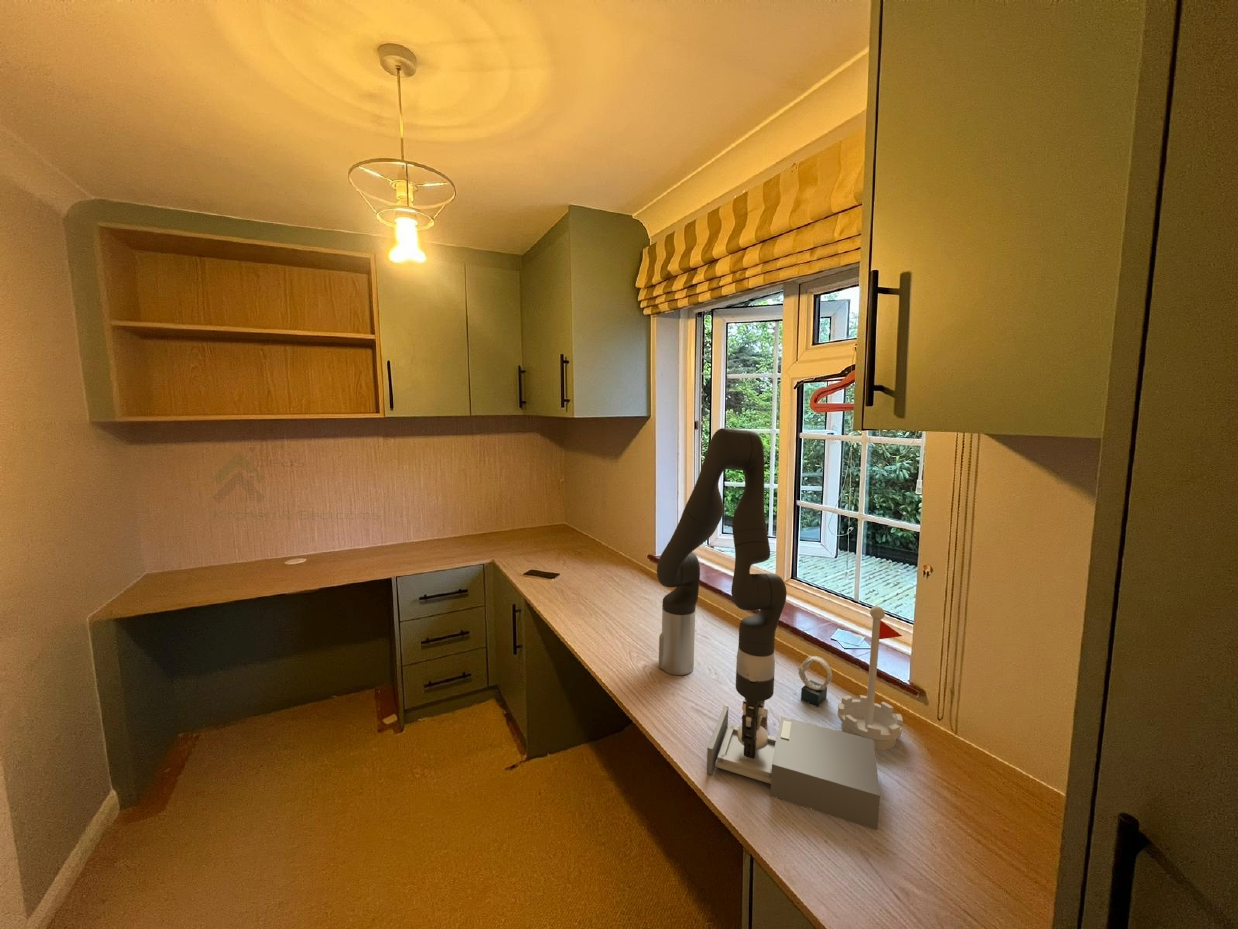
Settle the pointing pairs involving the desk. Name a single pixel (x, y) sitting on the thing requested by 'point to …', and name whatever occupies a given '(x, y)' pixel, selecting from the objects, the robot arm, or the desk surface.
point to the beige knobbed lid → (761, 737)
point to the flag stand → (872, 698)
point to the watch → (814, 690)
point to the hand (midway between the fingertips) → (751, 746)
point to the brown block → (764, 719)
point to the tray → (738, 752)
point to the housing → (826, 771)
